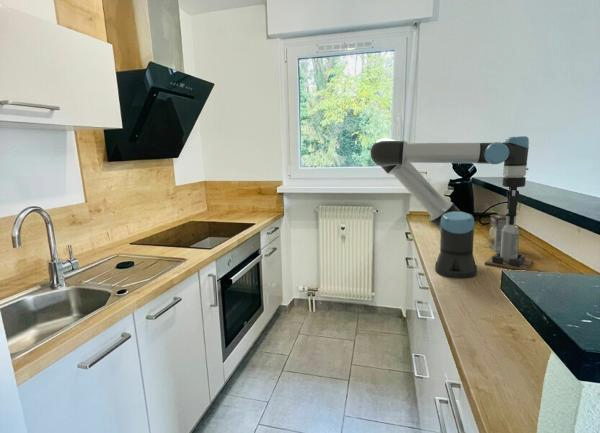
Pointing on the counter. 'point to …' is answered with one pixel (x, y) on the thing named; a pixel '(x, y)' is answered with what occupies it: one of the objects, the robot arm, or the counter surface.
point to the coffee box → (496, 231)
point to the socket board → (513, 264)
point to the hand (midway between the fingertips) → (510, 228)
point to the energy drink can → (509, 244)
